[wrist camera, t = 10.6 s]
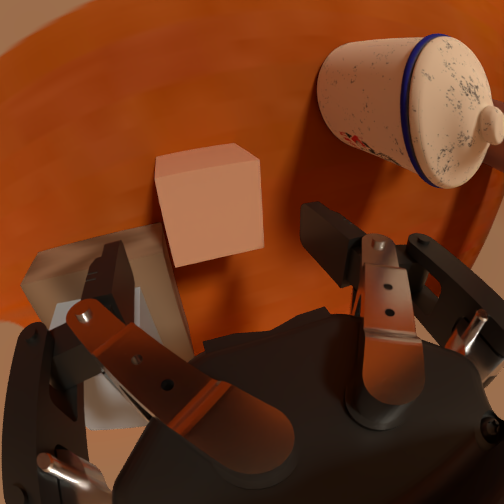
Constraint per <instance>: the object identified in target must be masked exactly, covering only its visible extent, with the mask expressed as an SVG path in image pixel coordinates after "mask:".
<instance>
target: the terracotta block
mask: <svg viewBox="0 0 504 504" xmlns="http://www.w3.org/2000/svg"><path fill="white" fill-rule="evenodd" d="M155 183H156V188H157V193H158V198H159V203H160V207H161V212H162V216H163V220H164V225H165V229H166V233H167V237H168V241H169V245H170V249H171V253H172V257H173V261H174V264H175V268H176V267H180V266H185V265H189V264H194V263H198V262H202V261H207V260H211V259H215V258H220V257H224V256H229V255H233V254H237V253H242V252H246V251H251V250H255V249H259V248H264V235H263V216H262V197H261V179H260V161H259V159H258V158H256V157H255V156H253V155H252V154H250V153H249V152H247V151H246V150H244V149H243V148H241V147H240V146H238V145H237V144H235V143H231V144H224V145H217V146H211V147H205V148H199V149H193V150H188V151H183V152H177V153H172V154H167V155H163V156H158V157H156V166H155Z"/></svg>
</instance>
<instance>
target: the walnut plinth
mask: <svg viewBox="0 0 504 504" xmlns="http://www.w3.org/2000/svg"><path fill="white" fill-rule="evenodd" d="M119 240H121V241H122V242H123V245H124V248H125V251H126V254H127V257H128V260H129V263H130V266H131V269H132V272H133V276H134V281H135V288H137V287H140V288H141V291H142V293H143V296H144V299H145V301H146V304H147V307H148V309H149V312H150V314H151V317H152V319H153V322H154V324H155V327H156V329H157V332H158V334H159V336H160V339H161V341H162V343H163V345H164V346H165V347H166V348H168V349H169V350H170V351H172V352H173V353H175V354H176V355H177V356H179V357H180V358H182V359H183V360H185V361H186V362H188V361H190V360H191V359H192V358H194V357H195V356H194V351H193V346H192V341H191V337H190V332H189V327H188V323H187V319H186V316H185V312H184V309H183V306H182V302H181V299H180V295H179V292H178V288H177V284H176V281H175V277H174V273H173V269H172V265H171V261H170V257H169V253H168V249H167V245H166V241H165V236H164V232H163V228H162V223H161V222H160V223H155V224H151V225H146V226H142V227H137V228H133V229H128V230H124V231H120V232H115V233H111V234H107V235H103V236H99V237H95V238H91V239H87V240H83V241H79V242H75V243H71V244H67V245H64V246H60V247H56V248H53V249H49V250H45V251H42V252H38V254H37V256H36V257H35V259H34V261H33V263H32V264H31V266H30V268H29V270H28V272H27V274H26V275H25V277H24V279H23V281H22V283H21V285H20V286H21V287H22V289H23V291H24V293H25V295H26V296H27V298H28V300H29V302H30V303H31V305H32V307H33V308H34V310H35V312H36V313H37V315H38V317H39V318H40V320H41V321H42V323H44V324H45V325H46V327H47V328H48V330H49V328H50V325H51V321H52V318H53V314H54V311H55V308H56V305H57V304H58V303H63V302H68V301H73V300H78V299H81V297H82V292H83V288H84V284H85V282H86V277H87V275H88V274H87V273H88V270H89V266H90V265H91V263H92V262H93V261H94V260H95V258H98V257H101V255H102V252H103V248H104V245H105V244H107V243H111V242H115V241H119Z"/></svg>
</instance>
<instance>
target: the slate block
mask: <svg viewBox="0 0 504 504" xmlns="http://www.w3.org/2000/svg"><path fill="white" fill-rule="evenodd" d="M79 301H81V299H78V300H73V301H68V302H63V303H58V304H57V305H56V308H55V311H54V314H53V318H52V321H51V325H50V328H49V330H52V329H54V328H56V327H58V326H60V325H62V324H64V323H66V315H67V313H68V311H69V309H70V308H71V307H72V306H73V305H74V304H76V303H77V302H79ZM134 324H136V325H137V326H138V327H140V328H141V329H142V330H143V331H145V332H146V333H147V334H149V335H150V336H151V337H153V338H154V339H155V340H157V341H158V342H159V343H161V344H162V345H163V343H162V341H161V339H160V336H159V334H158V332H157V329H156V327H155V324H154V322H153V319H152V317H151V314H150V312H149V309H148V307H147V304H146V301H145V299H144V296H143V293H142V291H141V288H140V287H137V288H135V297H134ZM163 346H164V345H163ZM84 412H85V426H87V427H88V428H89V429H90V430H108V429H122V428H133V427H142V426H147V424H148V423H149V422H148V421H147V420H146V419H145V418H144V417H143V416H141V415H140V414H139V413H138V411H137V410H136V409H135V408H134V407H133V406H132V405H131V404H130V403H129V402H128V401H127V400H126V399H125V398H124V397H123V396H122V395H121V394H120V393H119V392H118V391H117V390H116V389H115V388H114V387H113V386H112V385H111V384H110V383H109V381H108V380H107V379H106V378H105V377H104V376H103V375H102V374H101V373H100V374H98V375H96V376H94V377H92V378H90V379H88V380H85V381H84Z"/></svg>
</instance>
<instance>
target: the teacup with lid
mask: <svg viewBox="0 0 504 504" xmlns="http://www.w3.org/2000/svg"><path fill="white" fill-rule="evenodd" d="M317 99H318V104H319V108H320V111H321V114H322V117H323V119H324V121H325V123H326V124H327V126H328V127H329V129H330V130H331V131H332V133H333V134H334V135H335V136H336V137H337V138H338V139H340V140H341V141H342V142H344V143H346V144H348V145H350V146H352V147H355V148H357V149H360V150H363V151H365V152H368V153H370V154H373V155H375V156H378V157H380V158H383V159H385V160H387V161H390V162H392V163H394V164H397V165H399V166H401V167H403V168H406V169H408V170H410V171H412V172H414V173H416V174H418V175H419V176H420V177H421V178H422V179H423V180H424V181H425V182H426V183H428V184H429V185H431V186H433V187H437V188H446V189H449V188H455V187H458V186H461V185H462V184H464V183H466V182H467V181H468V180H469V179H470V178H471V177H472V176H473V175H474V174H475V173H476V171H477V170H478V168H479V167H480V165H481V163H482V161H483V159H484V157H485V154H486V152H487V149H488V147H489V145H490V144H492V145H498V144H500V143H501V142H502V141H503V139H504V115H503V113H502V111H501V110H500V109H499V108H497V107H494V106H493V102H492V98H491V92H490V87H489V83H488V80H487V77H486V74H485V72H484V70H483V68H482V66H481V64H480V62H479V60H478V59H477V57H476V56H475V55H474V53H473V52H472V51H471V50H470V49H469V48H468V47H467V46H466V45H464V44H463V43H462V42H460V41H459V40H457V39H455V38H452V37H450V36H448V35H444V34H432V35H428V36H426V37H424V38H393V39H379V40H369V41H360V42H352V43H347V44H344V45H342V46H340V47H338V48H336V49H335V50H334V51H333V52H331V53H330V54H329V56H328V57H327V58H326V60H325V61H324V63H323V65H322V67H321V69H320V72H319V76H318V81H317Z"/></svg>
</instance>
